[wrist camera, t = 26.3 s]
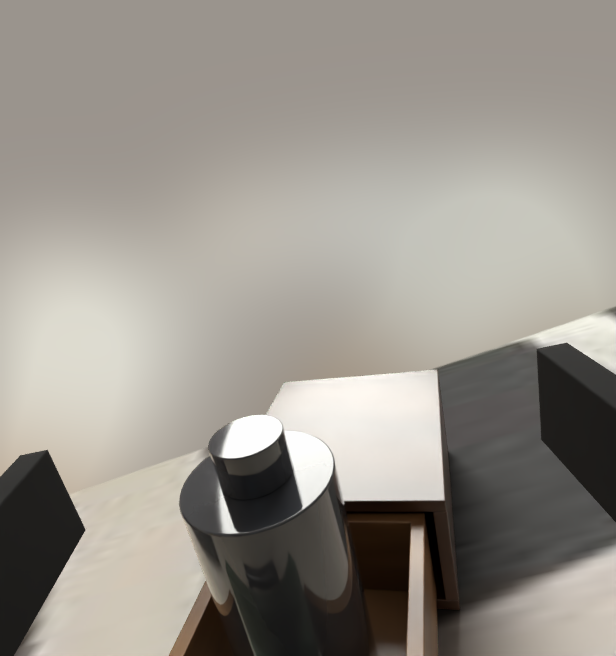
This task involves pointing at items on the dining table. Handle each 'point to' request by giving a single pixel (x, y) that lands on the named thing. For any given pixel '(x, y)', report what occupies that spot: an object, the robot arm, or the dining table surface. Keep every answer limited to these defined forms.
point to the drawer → (379, 587)
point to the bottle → (277, 543)
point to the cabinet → (385, 451)
